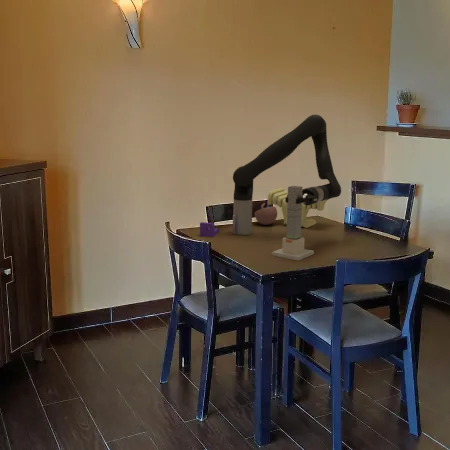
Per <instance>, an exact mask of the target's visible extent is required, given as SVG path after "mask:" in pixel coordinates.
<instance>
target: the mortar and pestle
mask: <svg viewBox="0 0 450 450" xmlns="http://www.w3.org/2000/svg"><path fill="white" fill-rule="evenodd" d="M264 206H266V203H265V202H263V203H262V204H260V209H258V210H256V211H255V212H254V218H255V219H256V221H257V223H259V224H260V225H264V226H267V225H272V224H273V223H274V222H275V221H276V220H277V218H278V210H277V207H276V206H275V205H274V206H273V205H272V206H267V207H264Z"/></svg>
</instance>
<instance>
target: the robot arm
mask: <svg viewBox="0 0 450 450" xmlns="http://www.w3.org/2000/svg"><path fill="white" fill-rule="evenodd" d="M327 132H328V131H327V122H326V120H325V118H323V117H322V116H321V115H319V114H312V115H309V116H308V117H307V118H305V119H304V120H302V122H301V123H300V124H299V125H298V126H297V127H295V128H293V129H292V130H291V131H289V132H288V133H286V134H285V135H283V136H282V137H280V138H279V139H276V141H274V142H273V143H271V144H270V145H269V146H267V147H266V148H265V149H263V151H262V152H260V153H259V154H258V155H256V157H255V158H254V159H253V160H251V161H249V162H248V163H246V164H245V165H242V166H239V167H238V168H236V169H235V171H234V172H233V175H232V180H233V183H234V190H233V213H232V214H233V215H232V234H233V235H237V236H248V235H251V234H252V232H253V194H254V180H255V178H257V177H259V175H260V174H262V173H263V172H265V171H267V170H269V169H272V168H273V167H274V166H276V165H277V164H279V163H281V162H282V161H284V160H285V159H286V158H288V157H289V156H290V155H291V154H292V153H294V151H295V150H297V148H298V147H299V146H300V144H302V143H304V142H305V141H306V140H308V139H309V138H311V141H312V142H313V146H314V152H315V153H314V154H315V164H316V169H317V175H318V178H319V179H320V180H327V181H328V182H329V183H326V184H323V185H315V186H310V187H305V188H302V198H297V199H296V204H300V203H303V204H304V205H312V204H315V203H318V202H320V201H323V200H327V199H329V200H330V199H331V200H332V199H335V198H338V197H339V196H341V193H342V188H341V185H340V183H339V181H338V179H337V176H336V174H335V173H334V168H333V163H332V160H331V154H330V150H329V145H328V136H327ZM285 201H286V203H288V195H287V197H286V198H285ZM327 201H328V200H327Z"/></svg>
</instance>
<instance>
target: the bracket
mask: <svg viewBox="0 0 450 450" xmlns="http://www.w3.org/2000/svg"><path fill="white" fill-rule="evenodd" d="M219 233H220V228H215V224H214V223H213V222H206V221H205V222H201V221H200V222H199V236H200V237H204V236H206V238H207V237H208V238H215V236H217V234H219Z"/></svg>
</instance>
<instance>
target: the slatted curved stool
mask: <svg viewBox="0 0 450 450" xmlns="http://www.w3.org/2000/svg"><path fill="white" fill-rule="evenodd" d="M287 195H288V190H285V188H283V187H277V188H274V189H271V190H269V192H268V195H267V206H269V205H272V206H273V205H274V206H277V207H279V208H281V212H282V215H283V225H285V226H287V205H288V203H286V201H285V198H286V197H287ZM329 200H330V199H327V200H323V201H320V202H318V203H315V204H312V205H304V204H303V203H302V216H301V228H306V229H308V228H309V227H311V226H314V225H316V224H317V222H316V219H313V218H310V219H309V218H307V215H308V213H309V211H310V210H311V209H312V210H317V211H320V212H321V211H324V209H325V205H326V203H327V202H328V201H329Z"/></svg>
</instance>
